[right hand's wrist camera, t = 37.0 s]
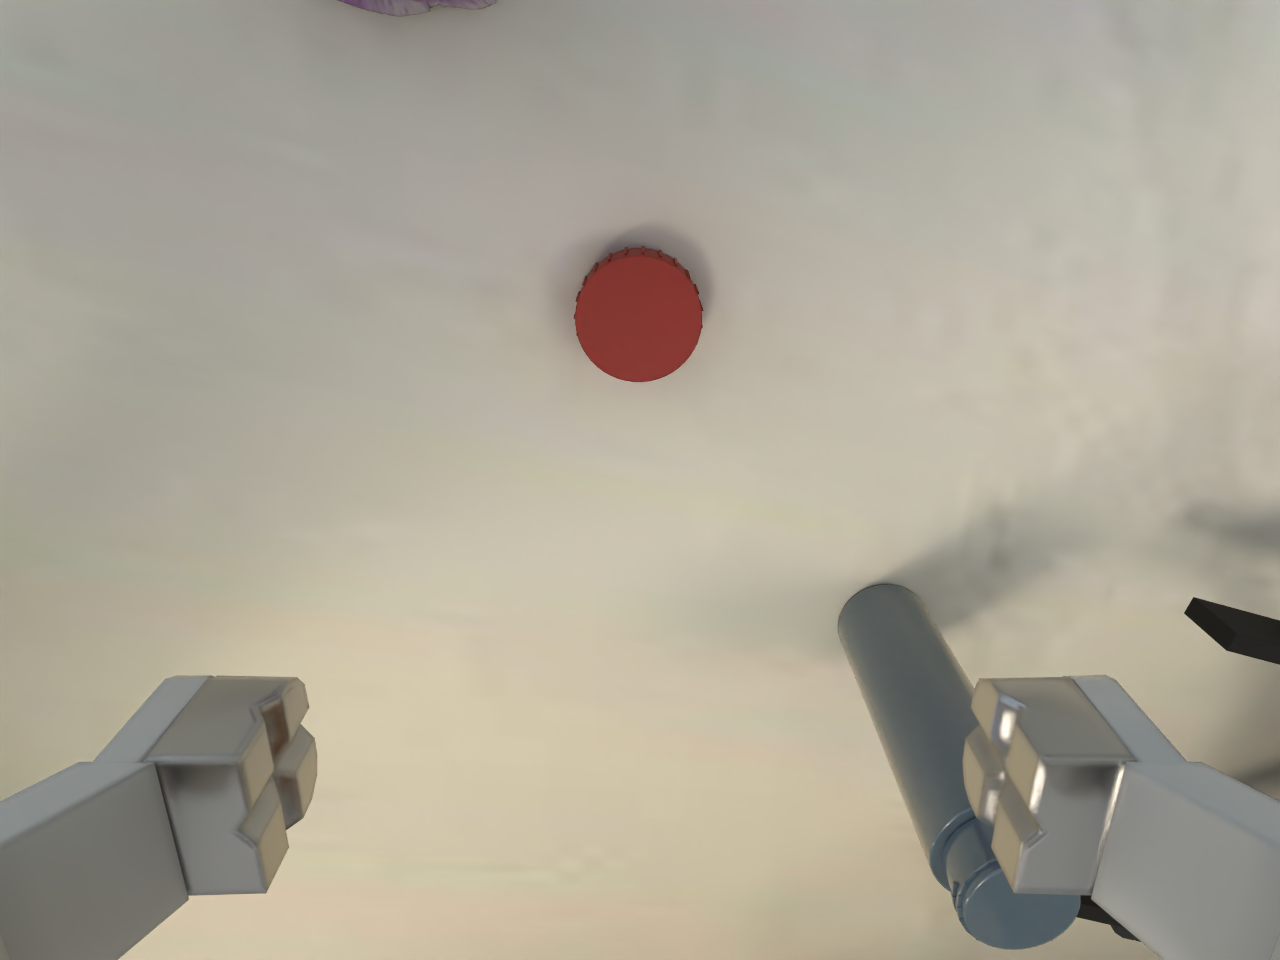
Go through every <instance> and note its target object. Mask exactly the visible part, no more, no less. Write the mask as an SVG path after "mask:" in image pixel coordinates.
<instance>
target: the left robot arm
mask: <svg viewBox="0 0 1280 960" xmlns="http://www.w3.org/2000/svg"><path fill="white" fill-rule="evenodd" d="M1184 614H1186V615H1187V616H1188V617H1189V618H1190V619H1191V620H1192V621H1194V622H1195V623H1196V624H1197V625H1198V626H1199V627H1200V628H1202V629H1203V630H1204V631H1205V632H1206V633H1207V634H1208V635H1209V636H1211V637H1212V638H1213V639H1214V640H1215V641H1216V642H1217V643H1219V644H1220V645H1221V646H1222V647H1223V648H1224V649H1225V650H1227V651H1231V652H1234V653H1238V654H1242V655H1246V656H1249V657H1253V658H1257V659H1261V660H1264V661H1268V662H1272V663H1276V664H1280V621H1279V620H1275V619H1272V618H1268V617H1264V616H1261V615H1257V614H1253V613H1250V612H1246V611H1242V610H1239V609H1235V608H1231V607H1228V606H1224V605H1220V604H1216V603H1213V602H1209V601H1205V600H1202V599H1198V598H1194V597H1193V599H1192V601H1191V602H1190V604H1189V606H1188V607H1187V609H1186V611H1185V612H1184ZM1080 896H1081V903H1080V909H1079V912H1078V914H1077V916H1076V917H1079V918H1083V919H1087V920H1092V921H1096V922H1101V923H1105V924H1110V925H1111V927H1112V928H1113V930H1114V932H1115V933H1117V934H1118V935H1120V936H1121V937H1123V938H1126V939H1131V940H1136V941H1140V940H1139V939H1138V938H1137V937H1135V936H1134V935H1133V934H1132V933H1131V932H1129V931H1128V930H1127V929H1126V928H1125V927H1123V926H1122V925H1121V924H1120V923H1119V922H1118V921H1116V920H1115V919H1114V918H1113V917H1112V916H1110V915H1109V914H1108V913H1107V912H1106V911H1105V910H1103V909H1102V908H1101V907H1100V906H1099V905H1097V904H1096V903H1095V902H1094V901H1093V900H1091V897H1092V895H1080ZM1140 942H1141V941H1140Z"/></svg>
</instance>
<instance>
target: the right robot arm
mask: <svg viewBox="0 0 1280 960" xmlns="http://www.w3.org/2000/svg"><path fill="white" fill-rule="evenodd" d="M308 709H309V703H308V699H307V694H306V689H305V684H304V683H303V682H302V681H301V680H299V679H298V678H297V677H257V676H215V677H214V676H211V675H197V676H173V677H170V678H167V679H165V680H164V681H163V682H162V683H161V684H160V685H159V686H158V688H157V689H156V690H155V691H154V692H153V693H152V694H151V696H150V697H149V698H148V699H147V700H146V701H145V702H144V704H143V705H142V706H141V707H140V708H139V709H138V710H137V712H136V713H135V714H134V715H133V716H132V717H131V718H130V720H129V721H128V722H127V723H126V724H125V725H124V727H123V728H122V729H121V730H120V731H119V732H118V733H117V735H116V736H115V737H114V738H113V739H112V740H111V741H110V743H109V744H108V745H107V746H106V747H105V748H104V749H103V751H102V752H101V753H100V754H99V755H98V756H97V757H96V759H95V760H94V761H93V762H78V763H76V764H74V765H72V766H70V767H68V768H66V769H64V770H62V771H60V772H58V773H56V774H54V775H52V776H50V777H48V778H46V779H44V780H42V781H40V782H38V783H36V784H34V785H32V786H30V787H28V788H26V789H24V790H22V791H20V792H18V793H16V794H14V795H13V796H11V797H9V798H7V799H5V800H3V801H1V802H0V960H118V959H119V958H120V957H121V956H122V955H124V954H125V953H126V952H127V951H128V950H130V949H131V948H132V947H133V946H134V945H135V944H137V943H138V942H139V941H140V940H141V939H143V938H144V937H145V936H146V935H147V934H149V933H150V932H151V931H152V930H153V929H154V928H156V927H157V926H158V925H159V924H160V923H162V922H163V921H164V920H165V919H166V918H168V917H169V916H170V915H171V914H172V913H173V912H175V911H176V910H177V909H178V908H179V907H181V906H182V905H183V904H184V903H185V902H187V901H188V900H189V897H188V895H222V894H257V893H266V892H267V890H268V888H269V886H270V884H271V882H272V880H273V878H274V876H275V874H276V872H277V870H278V868H279V866H280V864H281V862H282V860H283V858H284V856H285V854H286V852H287V850H288V848H289V845H288V839H287V834H286V830H287V829H288V828H290V827H291V826H293V825H294V824H295V823H297V822H298V821H300V820H301V819H303V817H304V815H305V813H306V811H307V809H308V807H309V804H310V802H311V800H312V796H313V792H314V787H315V782H316V777H317V751H316V744H315V738H314V737H313V736H312V735H311V734H310V733H309V732H308V731H307V730H306V729H305V728H304V727H303V726H302V725H301V724H300V723H301V721H302V720H303V718H304V716H305V714H306V712H307V711H308ZM971 709H972V711H973V712H974V714H975V716H976V718H977V720H978V721H979V723H980V724H979V725H978V726H977V727H976V728H975V729H974V730H973V731H972V732H971V733H970V734H969V735H968V736H967V737H966V738H965V745H964V753H963V761H962V762H963V775H964V785H965V789H966V792H967V796H968V799H969V802H970V805H971V807H972V809H973V811H974V813H975V815H976V817H977V819H979V820H980V821H982V822H983V823H985V824H986V825H987V826H989V827H990V828H992V829H993V830H994V834H993V839H992V845H991V848H992V850H993V852H994V854H995V856H996V858H997V860H998V862H999V864H1000V866H1001V868H1002V870H1003V872H1004V874H1005V876H1006V878H1007V880H1008V882H1009V884H1010V886H1011V888H1012V890H1013V892H1014V893H1021V894H1056V895H1092V897H1091V900H1093V901H1094V902H1095V903H1096V904H1097V905H1099V906H1100V907H1101V908H1102V909H1103V910H1105V911H1106V912H1107V913H1108V914H1109V915H1110V916H1112V917H1113V918H1114V919H1115V920H1116V921H1118V922H1119V923H1120V924H1121V925H1122V926H1123V927H1125V928H1126V929H1127V930H1128V931H1129V932H1131V933H1132V934H1133V935H1134V936H1135V937H1137V938H1138V939H1139V940H1140V941H1141V942H1142V943H1144V944H1145V945H1146V946H1147V947H1148V948H1150V949H1151V950H1152V951H1153V952H1154V953H1156V954H1157V955H1158V956H1159V957H1160V958H1161V959H1163V960H1280V802H1279V801H1277V800H1275V799H1273V798H1271V797H1269V796H1267V795H1265V794H1263V793H1261V792H1259V791H1257V790H1255V789H1253V788H1251V787H1249V786H1247V785H1246V784H1244V783H1242V782H1240V781H1238V780H1236V779H1234V778H1232V777H1230V776H1228V775H1226V774H1224V773H1222V772H1220V771H1218V770H1216V769H1214V768H1212V767H1210V766H1208V765H1206V764H1204V763H1202V762H1187V761H1186V760H1185V759H1184V757H1183V756H1182V755H1181V754H1180V753H1179V752H1178V751H1177V749H1176V748H1175V747H1174V746H1173V745H1172V744H1171V743H1170V741H1169V740H1168V739H1167V738H1166V737H1165V736H1164V735H1163V733H1162V732H1161V731H1160V730H1159V729H1158V728H1157V727H1156V725H1155V724H1154V723H1153V722H1152V721H1151V720H1150V719H1149V717H1148V716H1147V715H1146V714H1145V713H1144V712H1143V711H1142V709H1141V708H1140V707H1139V706H1138V705H1137V704H1136V703H1135V701H1134V700H1133V699H1132V698H1131V697H1130V696H1129V695H1128V693H1127V692H1126V691H1125V690H1124V689H1123V688H1122V687H1121V685H1120V684H1119V683H1118V682H1117V681H1116V680H1115V679H1113V678H1111V677H1109V676H1106V675H1088V676H1063V677H1041V678H979V680H978V682H977V684H976V686H975V688H974V692H973V697H972V703H971Z"/></svg>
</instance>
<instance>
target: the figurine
mask: <svg viewBox="0 0 1280 960" xmlns="http://www.w3.org/2000/svg"><path fill="white" fill-rule="evenodd" d="M339 1H342V2H345V3H348V4H350V5H353V6H356V7H359V8H362V9H365V10H368V11H374V12H378V13H383V14H389V15H393V16H405V15H416V14H420V13H424V12H428V11H430V8H431V7H434V6H436V5H438V4H439V5H442V6H444V7H446V6H452V7H461V8H466V9H480V8H483V7H487V6H490V5H492V4H494V3H495V2H496V1H497V0H339Z"/></svg>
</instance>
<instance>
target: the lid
mask: <svg viewBox="0 0 1280 960" xmlns="http://www.w3.org/2000/svg"><path fill="white" fill-rule="evenodd" d="M582 285H583V288H582V290H581V291H579V293H578V296H577V298H576V302H577V306H576V312H575V315H574V319H575V325H576V332H577V333H576V334H577V336H578V339H579V341H580V344H581V346H582V348H583V350H584V352H585V353H586V355H587V356H588V357H589V359H590V360H591V361H592V362H593V363H594V364H595V365H596V366H597V367H598V368H600V369H601V370H602V371H604V372H605V373H607V374H609V375H611V376H613V377H615V378H618V379H621V380H625V381H632V382H645V381H652V380H656V379H659V378H662V377H664V376H666V375H668V374H670V373H672V372H674V371H675V370H676V369H678V368H679V367H680V366H681V365H682V364H683V363H684V362H685V361H686V360H687V359H688V358H689V356H690V355H691V353H692V352H693V350H694V349H695V347H696V345H697V343H698V339H699V336H700V332H701V328H702V311H703V308H702V305H701V302H700V300H699V298H698V295H697V294H699V292H698V289H697V286H696V284H693V282H692V280H691V278H690V275H689V272H688V270H687V269H686V270H685V269H684V268H683V267H682V266H681V265H680V264H679V263H678V262H677V260H676V258H673V259H672V258H671V257H669V256H668V255H666V254H664V253H662V251H661V250H659V251H656V250H652V249H646V248H645V246H642V248H631V249H628V247H626V248H625V250H622V251H619V252H616V253H614V254H612V253H609V255H608V257H606V258H605V259H604V260H602V261H601V262H600V263H599V264H598V263H596V264H595V266H594V269H593V270H592V271H591V273H590V274H589V275H588V276H585V278H584V281H583V284H582Z"/></svg>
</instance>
